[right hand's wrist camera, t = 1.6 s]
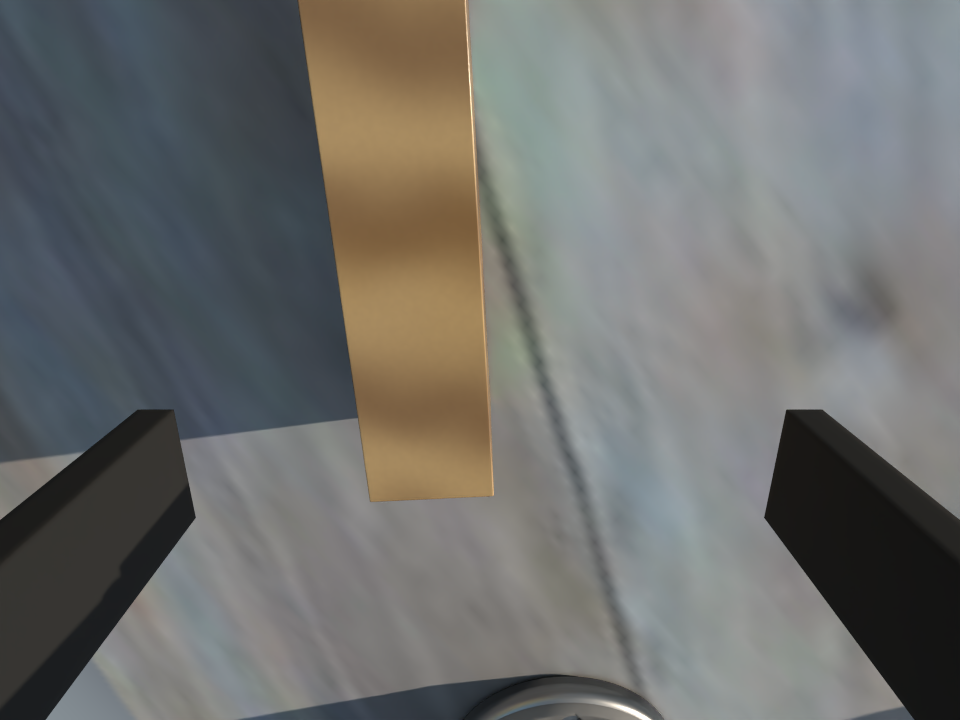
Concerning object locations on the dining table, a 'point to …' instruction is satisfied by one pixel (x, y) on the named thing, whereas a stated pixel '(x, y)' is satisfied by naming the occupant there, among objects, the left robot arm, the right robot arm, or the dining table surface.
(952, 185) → the dining table surface
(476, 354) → the post
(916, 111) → the dining table surface
